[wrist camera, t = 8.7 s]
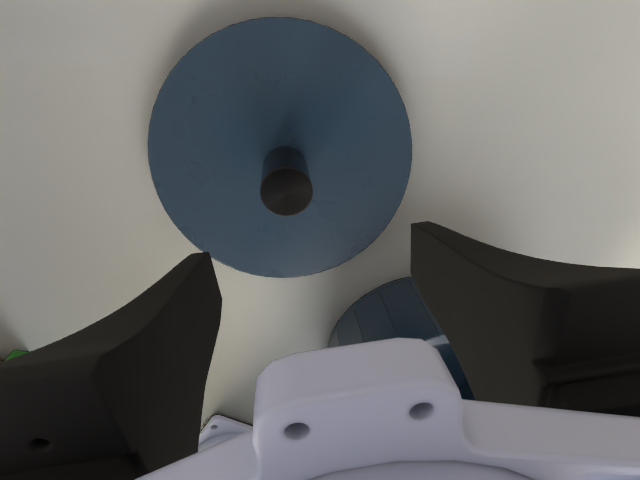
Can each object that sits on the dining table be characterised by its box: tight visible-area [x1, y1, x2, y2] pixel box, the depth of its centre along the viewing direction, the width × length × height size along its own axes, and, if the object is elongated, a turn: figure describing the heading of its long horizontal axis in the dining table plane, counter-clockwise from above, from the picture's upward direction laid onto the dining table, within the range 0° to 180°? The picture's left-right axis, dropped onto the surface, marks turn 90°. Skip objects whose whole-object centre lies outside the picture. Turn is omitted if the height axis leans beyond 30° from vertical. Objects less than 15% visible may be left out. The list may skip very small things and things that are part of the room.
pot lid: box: [148, 17, 412, 278], centre depth 19 cm, size 14×14×5 cm
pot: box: [328, 277, 476, 401], centre depth 26 cm, size 13×13×6 cm
